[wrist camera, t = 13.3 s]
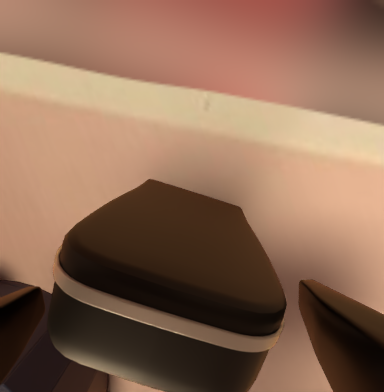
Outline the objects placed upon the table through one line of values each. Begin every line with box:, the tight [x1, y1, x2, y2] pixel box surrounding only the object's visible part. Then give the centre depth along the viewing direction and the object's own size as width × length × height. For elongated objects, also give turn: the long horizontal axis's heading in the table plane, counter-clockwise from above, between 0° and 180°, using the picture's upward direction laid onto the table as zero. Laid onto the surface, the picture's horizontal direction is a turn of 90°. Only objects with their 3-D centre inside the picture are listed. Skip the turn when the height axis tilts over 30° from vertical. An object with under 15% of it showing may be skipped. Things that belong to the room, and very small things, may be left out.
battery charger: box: [47, 179, 287, 392], centre depth 12 cm, size 7×4×11 cm, turn 73°
